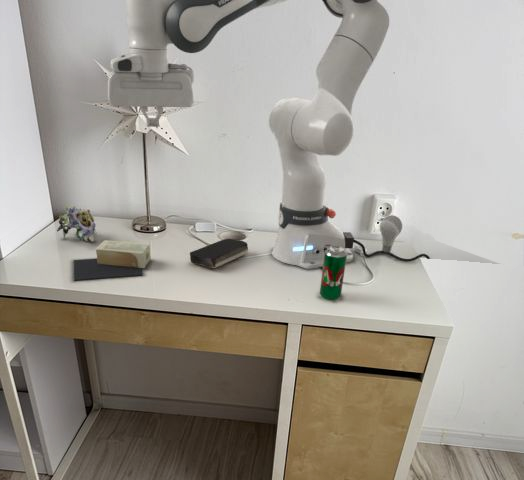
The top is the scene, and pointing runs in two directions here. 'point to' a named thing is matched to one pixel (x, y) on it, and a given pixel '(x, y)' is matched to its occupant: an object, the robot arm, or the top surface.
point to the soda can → (333, 272)
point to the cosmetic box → (123, 254)
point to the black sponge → (219, 253)
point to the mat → (101, 270)
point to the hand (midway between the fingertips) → (153, 126)
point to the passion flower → (78, 223)
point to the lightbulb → (390, 231)
